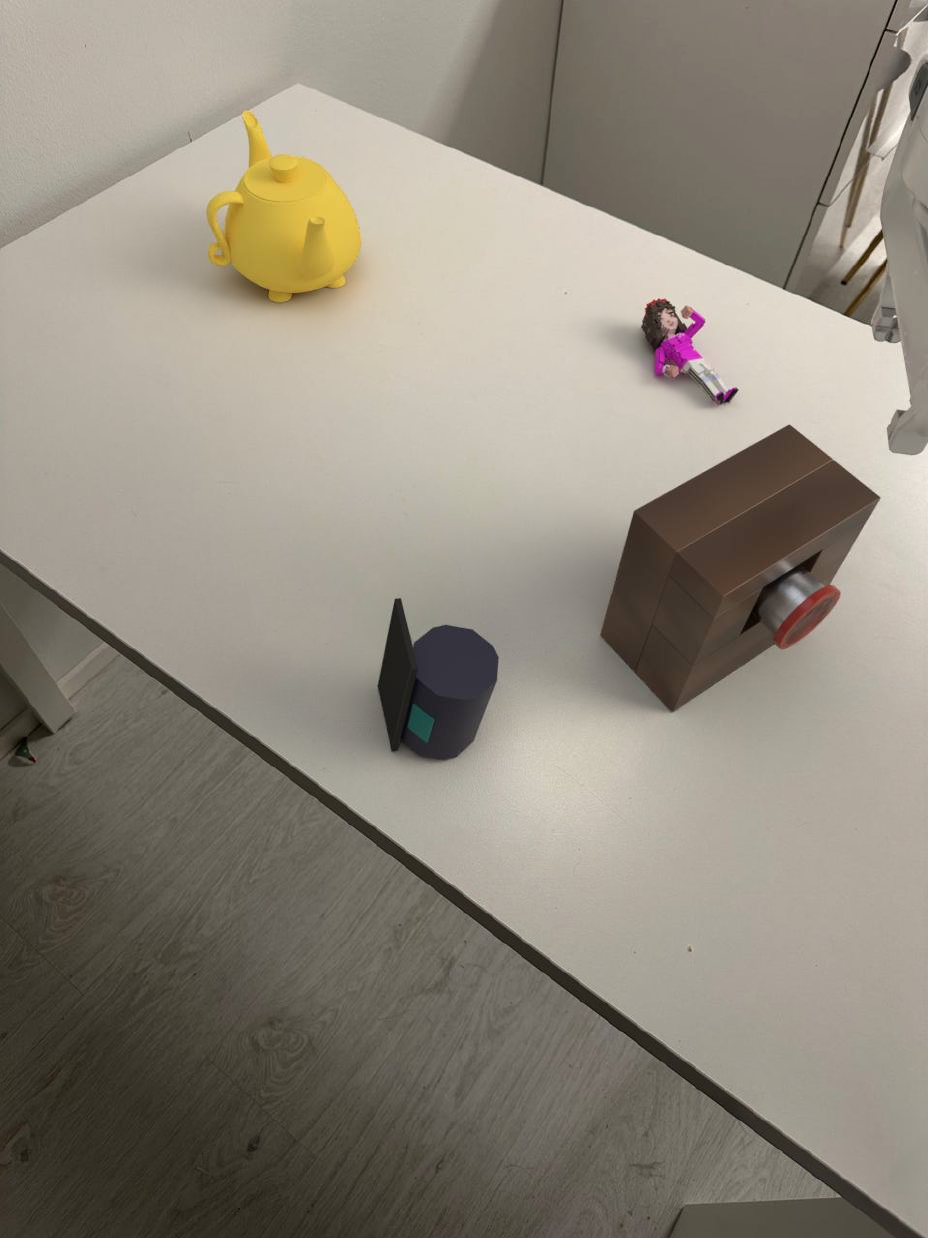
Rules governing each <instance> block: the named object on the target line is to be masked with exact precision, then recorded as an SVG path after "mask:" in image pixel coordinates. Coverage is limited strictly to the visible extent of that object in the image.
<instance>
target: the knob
mask: <svg viewBox="0 0 928 1238" xmlns="http://www.w3.org/2000/svg"><path fill="white" fill-rule="evenodd" d="M841 595H842V593H841V590H840V589H839V588H837V586H835V585H834V584H830V585H828V586H824V585H823V584H822V583H821V582H820V581H819V580H817V579H816V578H815V577H814V576H813V575H812V574H811V573H810V572H808V571H807V570H806V569H805V568H804V567H803V566H802V565H801V564H799V565H797V566H796V567H794V568H792V569H791V570H789V571H788V572H786V573H785V574H783V575H781V576H780V577H778V578H777V579H775V580H774V581H772V582H770V583H769V584H767V585H766V586H764V587H763V589H762V591H761V593H760V595H759V597H758V599H757V601H756V603H755V605H754V607H753V609H752V611H751V613H752V614H753V615H754V616H755V617H756V618H757V619H758V620H759V621H760V622H761V623H762V624H763V625H764V626H766V627H767V628H768V629H769V630H770V631H771V632H772V633H773V634H774V638H773V642H774V645H775V646H776V648H778V649H780V650H786V649H789V648H790V647H792V646H794V645H796V644H797V643H798V642H800V641H802V640H803V639H804V638H805V637H807V636H808V635H809V634H810V633H811V632H813V631H814V630H815V629H816V628H817V626H819V625H820V624H821V623H822V622H823V621H824V620H825V619H826V618H827V616H829V615H830V613H831V612H832V611H833V610H834V608H835V607H836V606H837V604H838V602H839V600H840V598H841Z"/></svg>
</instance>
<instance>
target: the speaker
mask: <svg viewBox="0 0 928 1238" xmlns="http://www.w3.org/2000/svg"><path fill="white" fill-rule="evenodd" d="M406 617H407V616H406V613H405V609H404V605H403V601H402V598H401V597H397V598H396V597H395V598H394V601H393V606H392V610H391V616H390V621H389V626H388V632H387V636H386V641H385V646H384V652H383V655H382V656H383V657H382V661H381V666H380V672H379V676H378V683H377V690H378V695H379V700H380V703H381V704H380V705H381V708H382V713H383V719H384V723H385V727H386V728H385V729H386V732H387V733H386V734H387V737H388V741H389V746H390V751H391V752H396V751H398V749H399V746H400V741H401V742H403V743H404V744H405V746H407V747H408V748H409V749H410V750H411V751H413V752H414V753H415V754H416V755H417V756H419V757H423V758H428V759H429V758H430V759H434V760H435V759H436V760H441V761H447V760H450V759H454V758H457V757H458V756H460V754H462V752H464V751H465V750H466V749H467V748H468V747H469V746H470V745H471V744H472V743H474V741H475V738H476V735H477V733H478V730H479V728H480V725H481V722H482V720H483V717H484V716H485V712H486V710H487V707H488V704H489V702H490V700H491V697H492V694H493V692H494V689H495V687H496V684H497V681H498V675H499V673H498V672H499V662H500V661H499V660H500V659H499V657H500V656H499V654H498V653H497V651H496V649H495V647H494V645H493V644H491V643H490V642H489V641H488V640H486V639H485V638H484V637H483V636H482V635H481V634H480V633H478V632H477V631H475V630H474V629H473V628H467V627H462V626H456V625H450V624H442V625H438V626H433V627H431V628H430V629H428V631H427V632H425V633H424V634H423V635H421V637H419V638H418V639H416V640H415V641H414V642H412V638H411V633H410V631H409V630H410V629H409V625H408V621H407V618H406Z"/></svg>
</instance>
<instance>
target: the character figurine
mask: <svg viewBox="0 0 928 1238" xmlns="http://www.w3.org/2000/svg"><path fill="white" fill-rule="evenodd" d="M680 314H681V317H682V318H683V319H685V320H689V319H691V320H692V321H693V322H694V323H690V325H689V326H688V327H687V325H686V324H685V322H682V321H681V319H680V317H679V315H678V314H677V313H676V306H675V305H673V304H672V303H671V301H670V300H667V298H665V297H664V298H660V297H658V298H657V299H653V300H651V301H649V302H648V303H646V307H645V308H644V316H643V319H642V321H641V322H642V323H641V326H640V328H641V330H642V332H643V333H644V335H645V336H644V337H645V339H646V341H647V342H648V345H649V346H650V347H651V348H652V350H653V352H654V375H655V376H665V377H669V378H673V379H675V377H677V376H678V375H679V374H680V373H682V374H684V375H685V374H686V375H687V374H688V375H689V376H690V377H691V378H692V379H693V380H694V382H696V383H697V385H698V386H700V388H701V389H702V391H703V392H704V393H705V394H706V395H708V396H709V397H710V399H711V400H712V401H713V402H714V403H715V404H716V405H717V406H721V405H722V404H724V403H725V404H728V403H730V402H732V400H733V398H734V397H735V396H736V395H737V393H738V392H739V388H737V387H736V386H735V387H732V388H730V389H729V388H728V386H727V385H726V383H725V382H724V380H723V379H722V377H721V376H720V374H718V373H717V372H715V368H713V366H711V364H709V362H708V361H706V359H704V357H703V356H702V355H701V354H700V353H699V352H698V351H697V349H694V348H695V347H694V346H693V340H692V338H693V337H694V336H695V335H696V334H697V333H698V332H699V331H700V330H701V329H702V328H703V327H704V326H705V324H706V318H704V317H703V316H702V315H701V314H700V313H699V312H698V311H696V310H695V309H693V307H692V306H690V305H685V306H684V307H683V308H682V309H681V310H680ZM666 360H667V361H668V362H671V361H672V362H673V363H674V364H675V365H672V364H671V365H669V364H666ZM664 364H665V365H664Z"/></svg>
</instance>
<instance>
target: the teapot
mask: <svg viewBox="0 0 928 1238" xmlns="http://www.w3.org/2000/svg"><path fill="white" fill-rule="evenodd" d="M242 121H243V125H244V127H245V130H246V134H247V138H248V168H247V170H245V172H244V173H243V175H242V176H241V178H240V180H239V182H238V184H237V186H236V188H235V190H234V191H233V190H225V191H222V192H219V193H217V194H216V195H214V196H213V197H212V198H211V199H210V200H209V201H208V203H207V206H206V210H205V212H206V220H207V223H208V225H209V228H210V230H211V232H212V234H213V236H214V238H215V239H216V241H217V242H213V243H211V244H210V245H209V246H208V248H207V258H208V260H209V262H210V263H212V264H213V265H215V266H217V267H227V266H229V265H230V264H231V265H232V266H233V267H234V268H235V270H236V271H237V272H238V273H240V274H241V275H242V276H244V278H246V279H248V280H249V281H251V282H252V283H254V284H256V285H257V286H259V287H262V288H264V289H265V290H266V289H267V290H268V294H267V297H268V299H269V300H270V301H272V302H274V303H285V302H287V301H290V299H292V296H293V294H295V293H296V294H298V293H307V292H312V291H316V290H318V289H322V288H325V287H326V288H329V289H338V288H341V287H343V286H344V285H345V284H346V283H347V280H346V277H345V276H344V275H345V274H346V273H347V272H348V271H349V270H350V268H351V267H352V266H353V265H354V264H355V262H356V261H357V259H358V257H359V254H360V251H361V247H362V236H361V229H360V224H359V221H358V218H357V215H356V213H355V209H354V207H353V206H352V204H351V202H350V200H349V198H348V196H347V195H346V193H345V192H344V191H343V189H342V188H341V186H340V185H339V184H338V182H337V181H336V180H335V179H334V177H333V176H332V175H331V174H330V172H328V170H327V169H325V168H324V167H323V166H322V165H321V164H320V163H318V162H317V161H315V160H312V159H311V158H308V157H307V158H306V157H304V156H298V155H292V154H289V153H279V154H276V155H272V152H271V150H270V148H269V145H268V143H267V140H266V138H265V135H264V132H263V129H262V127H261V124H260V122H259V120H258V118H257V117H256V116H255V114H254V113H252V111H250V110H244V111H243V112H242ZM227 205H228V206H227ZM226 206H227V210H226V213H225V218H224V226H223V227H224V229H223V231H222V228H221V227H220V224H219V222H218V218H217V213H218V211H219V210H220V209H222V208H223V207H226ZM217 251H221V252H222V253H221V254H216V252H217Z"/></svg>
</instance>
